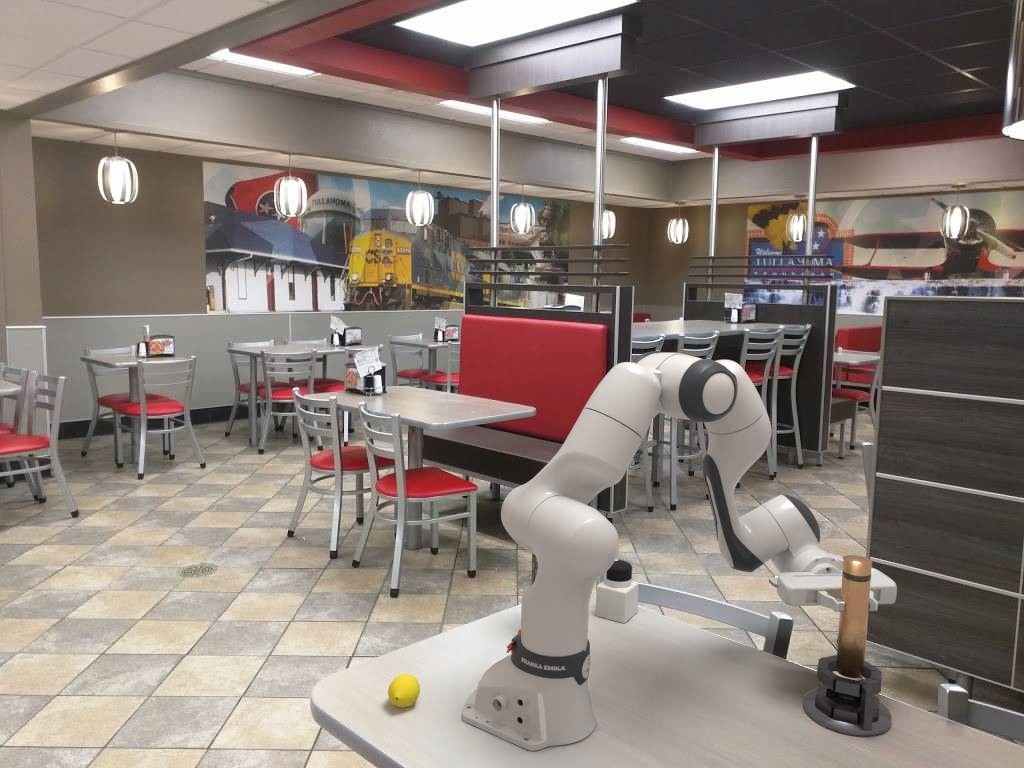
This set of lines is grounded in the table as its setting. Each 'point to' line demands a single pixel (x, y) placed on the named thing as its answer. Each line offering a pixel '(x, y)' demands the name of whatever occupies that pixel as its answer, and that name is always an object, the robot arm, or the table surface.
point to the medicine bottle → (617, 593)
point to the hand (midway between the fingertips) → (857, 607)
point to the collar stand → (848, 701)
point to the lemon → (404, 690)
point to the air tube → (853, 616)
